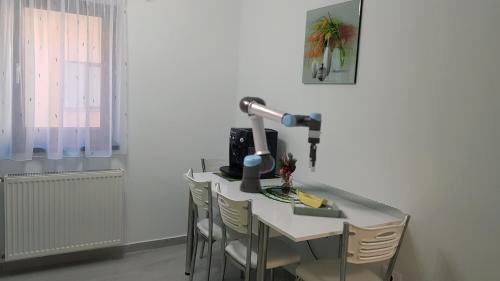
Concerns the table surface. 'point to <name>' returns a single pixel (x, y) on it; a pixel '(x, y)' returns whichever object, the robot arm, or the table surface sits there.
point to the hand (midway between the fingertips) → (311, 169)
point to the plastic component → (311, 200)
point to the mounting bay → (316, 210)
